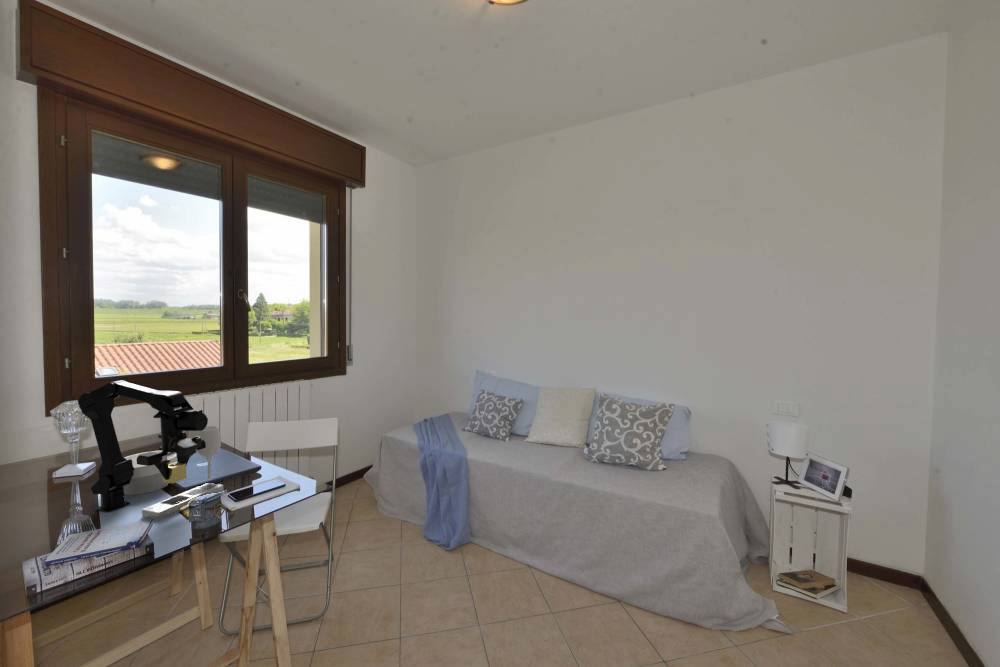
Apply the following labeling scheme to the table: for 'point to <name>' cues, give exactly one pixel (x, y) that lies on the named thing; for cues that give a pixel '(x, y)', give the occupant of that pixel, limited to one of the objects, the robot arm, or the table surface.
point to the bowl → (146, 476)
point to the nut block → (176, 472)
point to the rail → (168, 507)
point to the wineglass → (210, 444)
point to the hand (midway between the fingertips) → (174, 476)
